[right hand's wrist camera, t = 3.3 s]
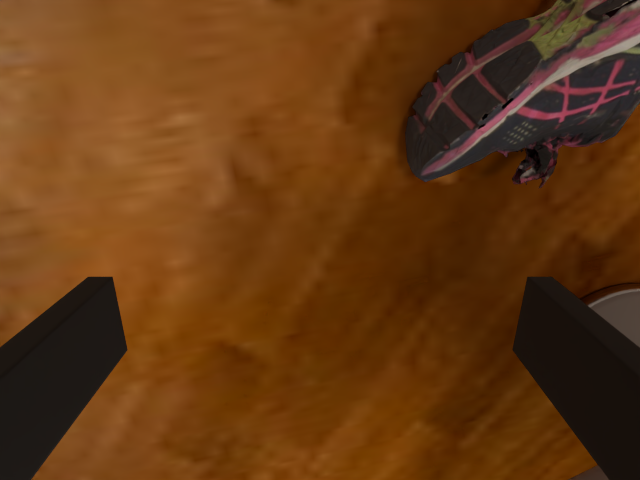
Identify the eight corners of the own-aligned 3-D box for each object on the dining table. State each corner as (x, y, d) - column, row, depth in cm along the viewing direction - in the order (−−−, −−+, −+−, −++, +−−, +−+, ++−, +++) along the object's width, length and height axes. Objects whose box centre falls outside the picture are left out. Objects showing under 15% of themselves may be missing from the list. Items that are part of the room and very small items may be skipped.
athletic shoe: (372, 141, 27) (459, 260, 31) (817, -149, 16) (864, 99, 20) (389, 92, 36) (455, 190, 40) (683, -116, 25) (734, 50, 29)
